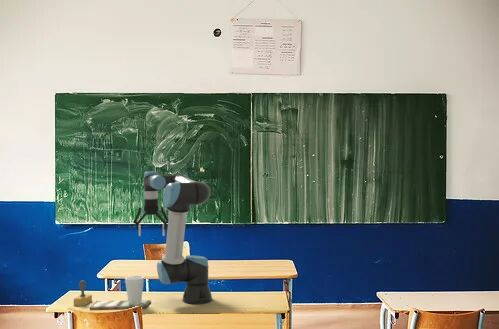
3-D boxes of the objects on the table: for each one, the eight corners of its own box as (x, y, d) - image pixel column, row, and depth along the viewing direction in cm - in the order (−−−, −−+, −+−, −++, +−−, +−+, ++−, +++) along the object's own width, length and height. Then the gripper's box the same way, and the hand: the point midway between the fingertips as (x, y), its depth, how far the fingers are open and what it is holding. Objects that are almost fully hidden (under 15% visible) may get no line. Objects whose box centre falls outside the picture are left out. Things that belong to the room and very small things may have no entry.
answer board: (150, 302, 287) (150, 299, 287) (146, 308, 274) (146, 306, 274) (96, 302, 287) (96, 300, 287) (89, 309, 274) (89, 307, 274)
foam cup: (139, 305, 275) (139, 279, 275) (122, 305, 277) (121, 279, 277) (146, 301, 285) (146, 275, 284) (130, 300, 286) (129, 275, 286)
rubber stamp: (81, 300, 292) (81, 278, 292) (92, 301, 292) (91, 278, 291) (73, 305, 282) (73, 282, 282) (84, 306, 282) (83, 282, 282)
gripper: (173, 197, 319) (174, 234, 319) (130, 198, 318) (131, 235, 319) (172, 198, 311) (172, 236, 311) (127, 199, 311) (128, 236, 311)
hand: (151, 235), depth 315 cm, fingers open, 13 cm apart
